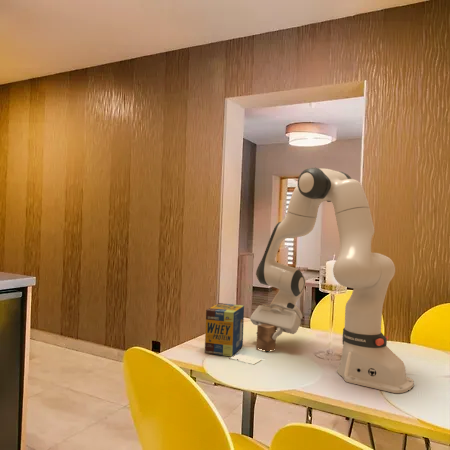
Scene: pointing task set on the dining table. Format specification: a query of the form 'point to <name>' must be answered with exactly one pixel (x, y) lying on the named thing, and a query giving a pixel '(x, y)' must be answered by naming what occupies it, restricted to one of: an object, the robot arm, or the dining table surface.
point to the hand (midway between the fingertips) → (265, 336)
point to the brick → (265, 337)
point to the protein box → (224, 329)
